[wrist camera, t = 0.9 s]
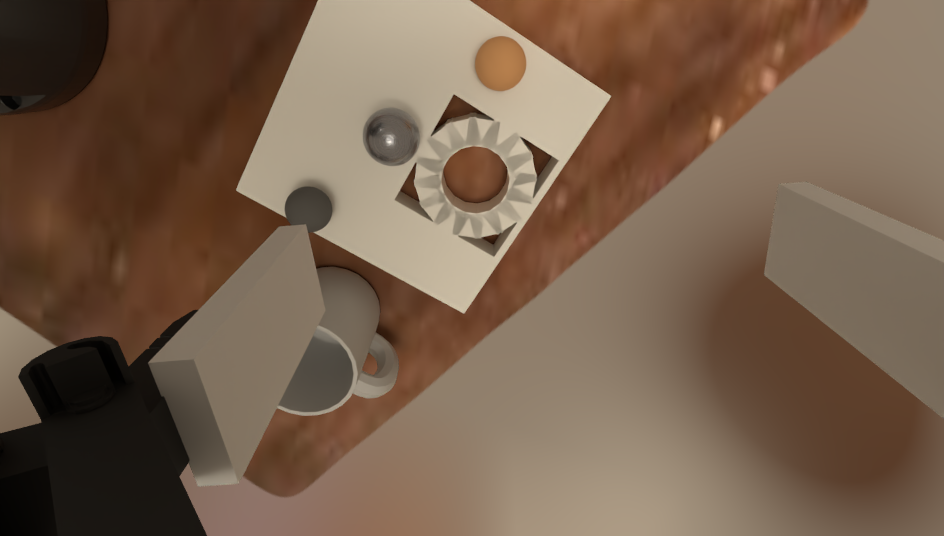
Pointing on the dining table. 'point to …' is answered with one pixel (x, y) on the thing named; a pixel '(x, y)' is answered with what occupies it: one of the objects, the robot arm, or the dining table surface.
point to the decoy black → (308, 208)
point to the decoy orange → (500, 63)
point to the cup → (341, 349)
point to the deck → (425, 99)
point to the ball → (391, 136)
